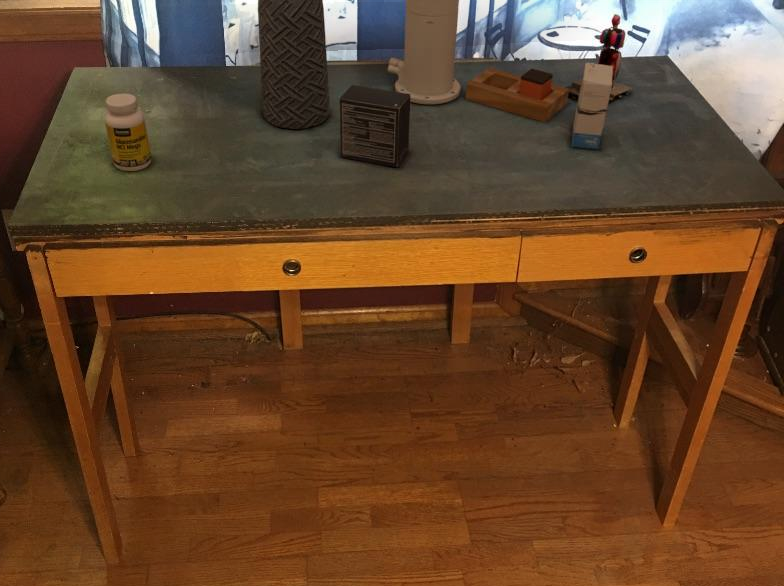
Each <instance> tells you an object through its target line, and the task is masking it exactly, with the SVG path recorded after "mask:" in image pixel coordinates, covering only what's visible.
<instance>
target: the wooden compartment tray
mask: <svg viewBox="0 0 784 586" xmlns="http://www.w3.org/2000/svg"><path fill="white" fill-rule="evenodd" d="M521 76H522V75H520V74H516V73H512V72H509V71H505V70H501V69H498V68H494V67H489V68H487V69H486V70H485V71H483V72H481V73H479V75H477V76H475V77H474V78H472V79H471V80H470V81H469V82H467V83H466V86H465V100H468V101H471V102H474V103H478V104H481V105H484V106H487V107H491V108H495V109H498V110H501V111H505V112H508V113H511V114H515V115H518V116H522V117H525V118H528V119H532V120H535V121H539V122H542V123H547V122H548V121H549V120H550V119H551V118H552V117H554V116H555V115H556V114H557V113H558V112H560V110H562V109H563V108H564V107H566V105H568V100H569V99H568V98H569V89H567V87H563V86H559V85H556V84H553V83H552V84H551V90H550V95H548V96H547V97H546V98H545V99H543V100H540V99H536V98H533V97H529V96H526V95H522V94H519V89H520V81H521Z"/></svg>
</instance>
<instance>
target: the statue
mask: <svg viewBox="0 0 784 586" xmlns="http://www.w3.org/2000/svg"><path fill="white" fill-rule="evenodd" d="M620 23H621V15H619V14H617V13H614V15H613V16H612V18H611V24H612V25H611V26H610V27H609V28H605V29H602V31H601V34H600V37H599V43H600V44H601V45H602V49H601V50H600V53H599V57H598V61H597V64H601V65H608V66H613V74H612V87H611V92H610V97H609V101H610V102H613V100H614V99H615V98H616V96H617V97H618V98H619V99H620V98H623V95H622V94H626V95H627V96H628V94H629V93H630V91H631V90H632V89H633V87H631V86H626V85H624V84H621V83H619V82H618V83H617V82H615V80H616V79H617V78H618V76H619V72H620V68H621V63H622V59H623V56H622V52H621V51H619V50H620V49H623V48H624V45H625V41H626V33H627V32H626V31H625V29H622V28H619V25H620ZM581 83H582V79H579V80H576V81H573V82H572V84H571V86H566V88H567V89H569V93H568V95H570V96H571V97H572V98H573V99H577V98H579V93H580V88H581Z"/></svg>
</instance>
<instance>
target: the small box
mask: <svg viewBox="0 0 784 586" xmlns="http://www.w3.org/2000/svg"><path fill="white" fill-rule="evenodd" d="M410 97H411V95H410V94H406V93H400V92H395V90H394V91H393V90H387V89H379V88H374V87H368V86H362V85H356V84H352V85H351V86H350V87H348V89H347V90H346V91H345V92H344V93H343V94H342V95H341V96H340V97H339V115H340V116H339V117H340V118H339V123H340V124H339V125H340V126H339V127H340V129H339V130H340V131H339V133H340V158H342V159H348V160H354V161H358V162H364V163H365V162H366V163H370V164H376V165H381V166H387V167H392V168H398V167H400V165H401V164H402V162H403V161H404V159H405V158H406V157H407V155H408V153H409V147H410V145H409V144H410V117H411V102H410Z"/></svg>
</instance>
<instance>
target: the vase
mask: <svg viewBox="0 0 784 586" xmlns="http://www.w3.org/2000/svg"><path fill="white" fill-rule="evenodd" d="M257 22H258V40H259V41H258V42H259V45H258V46H259V65H260V67H259V68H260V87H261V90H260V91H261V107H262V114H263V118H264V119H265V121H267V122H268V123H269V124H271V125H273V126H275V127H279V128H282V129H283V128H284V129H290V130H291V129H292V130H293V129H294V130H297V129H298V130H301V129H308V128H312V127H315V126H316V127H317V126H318V125H321V124H322V123H324V122H325V121H326V120H328V118H329V115H330V111H331V106H330V87H329V73H328V71H329V70H328V57H327V41H326V39H327V38H326V24H325V9H324V1H323V0H257Z"/></svg>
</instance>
